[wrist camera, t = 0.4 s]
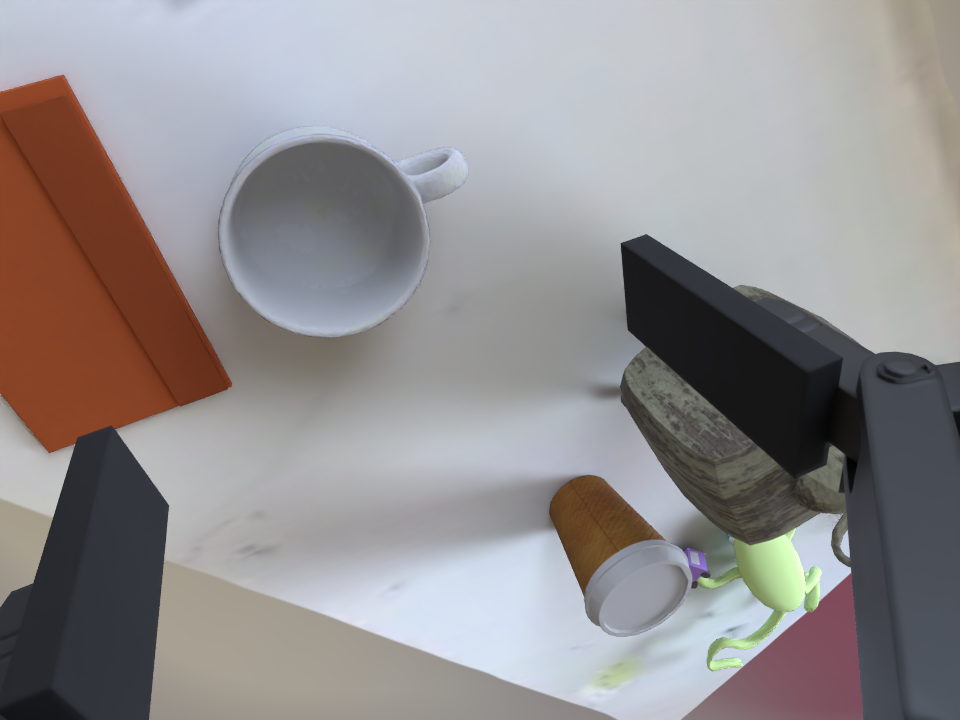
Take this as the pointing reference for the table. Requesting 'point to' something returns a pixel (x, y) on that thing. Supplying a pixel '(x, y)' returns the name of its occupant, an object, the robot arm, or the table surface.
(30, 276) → the orange envelope wallet
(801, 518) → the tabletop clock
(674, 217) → the table surface
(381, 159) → the teacup
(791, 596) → the figurine
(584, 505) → the disposable coffee cup
